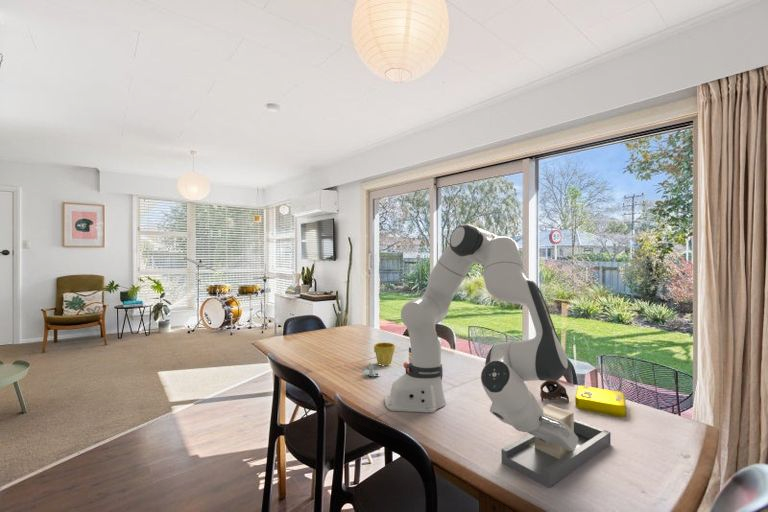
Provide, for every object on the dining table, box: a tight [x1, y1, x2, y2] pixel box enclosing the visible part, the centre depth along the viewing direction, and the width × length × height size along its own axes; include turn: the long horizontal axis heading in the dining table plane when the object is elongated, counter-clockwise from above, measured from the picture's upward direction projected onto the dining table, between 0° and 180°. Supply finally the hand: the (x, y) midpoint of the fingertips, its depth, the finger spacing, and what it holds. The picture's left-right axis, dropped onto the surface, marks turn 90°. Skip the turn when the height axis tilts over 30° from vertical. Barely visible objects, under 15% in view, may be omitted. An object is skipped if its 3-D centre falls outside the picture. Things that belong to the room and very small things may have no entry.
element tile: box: [574, 385, 627, 418], centre depth 129 cm, size 15×15×5 cm
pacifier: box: [363, 362, 379, 377], centre depth 163 cm, size 7×6×6 cm
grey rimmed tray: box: [500, 418, 612, 489], centre depth 98 cm, size 32×13×4 cm, turn 126°
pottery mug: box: [540, 380, 570, 403], centre depth 135 cm, size 12×10×8 cm
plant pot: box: [373, 342, 396, 366], centre depth 180 cm, size 10×10×10 cm
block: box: [535, 403, 575, 459], centre depth 96 cm, size 7×7×10 cm
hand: (544, 439), depth 94 cm, fingers closed, pressing on block
